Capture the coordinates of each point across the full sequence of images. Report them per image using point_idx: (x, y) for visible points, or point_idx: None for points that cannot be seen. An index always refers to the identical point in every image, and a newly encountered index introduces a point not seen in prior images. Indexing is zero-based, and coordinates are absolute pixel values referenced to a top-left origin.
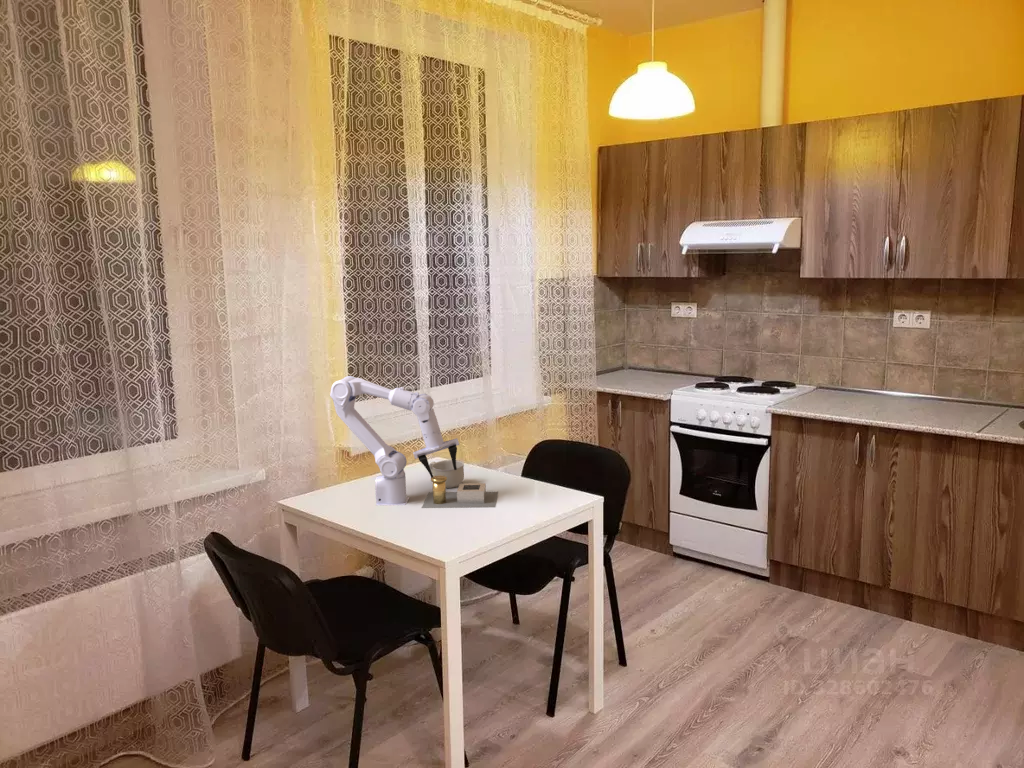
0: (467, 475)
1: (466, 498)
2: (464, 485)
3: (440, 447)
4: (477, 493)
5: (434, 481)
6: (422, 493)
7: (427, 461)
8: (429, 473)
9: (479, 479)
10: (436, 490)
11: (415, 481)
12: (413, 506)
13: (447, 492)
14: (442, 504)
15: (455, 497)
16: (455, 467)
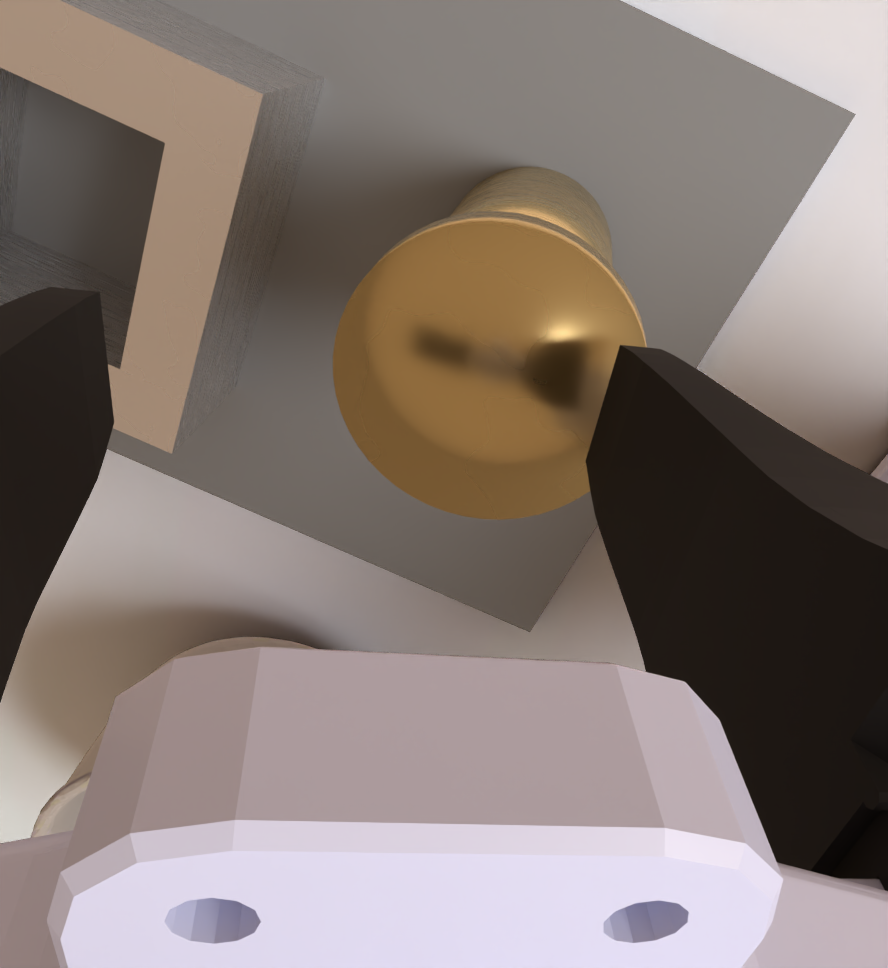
0: None
1: (171, 25)
2: (120, 366)
3: (57, 873)
4: None
5: (613, 276)
6: (588, 658)
7: (875, 533)
8: (720, 388)
9: (17, 738)
10: (581, 235)
11: None
12: (878, 299)
13: (349, 540)
14: (523, 136)
15: (300, 341)
16: (39, 301)
